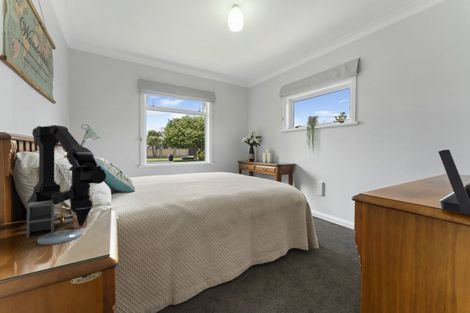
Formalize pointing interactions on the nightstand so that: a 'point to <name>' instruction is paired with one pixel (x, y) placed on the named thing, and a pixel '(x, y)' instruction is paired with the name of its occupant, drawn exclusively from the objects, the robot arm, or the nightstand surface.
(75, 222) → the block
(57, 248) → the nightstand surface
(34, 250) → the nightstand surface
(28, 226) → the empty hood
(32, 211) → the covering hood
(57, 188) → the robot arm
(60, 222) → the balance
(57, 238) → the dish
